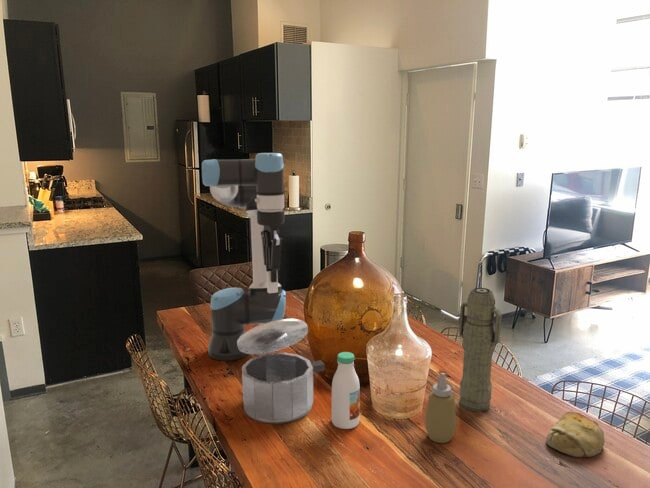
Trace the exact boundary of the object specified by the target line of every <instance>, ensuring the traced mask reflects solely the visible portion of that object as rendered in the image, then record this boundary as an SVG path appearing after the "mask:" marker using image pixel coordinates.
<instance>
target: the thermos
mask: <svg viewBox="0 0 650 488" xmlns="http://www.w3.org/2000/svg"><path fill="white" fill-rule="evenodd" d="M466 299H467V300H466V301H465V302H463V303H462V304H461V306H460V307H459V329H458V331H459V336H460V337H461V339H462V349H463V358H462V359H463V361H462V362H463V363H462V364H463V365H462V377H461V380H460V383H459V405H460V406H462V407H463V408H464V409H466V410H469V411H472V412H483V411H487V410H489V409H490V407H491V399H492V390H493V389H492V386H493V384H492V381H491V378H492V377H491V375H492V374H491V373H492V361H493V360H492V359H493V353H494V351H495V346H496V345H497V344H499V343H500V340H501V339H500V338H501V337H500V336H501V326H502V318H503V315H502V312H501V310H500V309H497V308H496V299H495V295H494V292H493V290H491V289H489V288H486V287H475V288H472V289H470V291H469V294H468V296H467V298H466ZM465 310H466V311H465ZM465 312H466V320H465ZM494 319H495V322H494ZM494 324H495V326H494Z"/></svg>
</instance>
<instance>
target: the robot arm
mask: <svg viewBox="0 0 650 488" xmlns="http://www.w3.org/2000/svg"><path fill="white" fill-rule="evenodd" d="M284 168H285V164H284V157H283V154H282V153H279V152H260V153H259V152H258V153H257V154H256V155H255V158H247V159H245V158H243V159H215V158H212V159H205V160H203V161H202V162H201V179H202V184H203V185H204V186H205V187H209V192H210V194H211V196H212V198H213V199H214V200H215V201H216V202H218V203H220V204H222V205H225V206H228V207H233V208H245V213H246V214H247V215H248V216H249V218H250V234H251V235H250V237H251V258H252V259H251V261H252V262H251V263H252V283H251V284H250V285H249V287H248V290H249V291H247V292H245V291H244V289H243V288H241V287H236V286H235V287H227V288H223V289H220V290H218V291H216V292H214V293H213V294H212V296H211V298H210V309H209V310H210V313H211V316H210V317H211V332H212V333H211V337H210V340H209V343H208V347H207V351H208V353H207V355H208V357H210V358H211V359H213V360H217V361H223V362H224V361H229V362H230V361H236V360H240V359H243V358H245V357H247V356H248V355H249V354H246V353H243V352H241V351H240V350H239V349H238V346H237V340H238V339H239V337H240V336H241V335H242V334H243V333H245V332H246V330H245V325H246V326H247V325H261V324H264V323H267V322H270V321H275V320H281V319H284V317H285V312H286V303H287V299H286V298H287V297H286V296H287V295H286V294H287V293H286V290H284V289H282V285H281V283H279V282H278V281H279V280H278V279H279V274H278V273H279V272H278V271H280V270H281V262H282V261H281V259H282V246H283V241H284V240H283V238H282V237H281V232H280V230H279V226H280V225H283V224H284V223H285V221H286V220H285V211H284V210H283V209H284V208H285V193H284V191H285V190H284V184H285V183H284V180H285V179H284Z"/></svg>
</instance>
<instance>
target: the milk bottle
mask: <svg viewBox="0 0 650 488" xmlns="http://www.w3.org/2000/svg"><path fill="white" fill-rule="evenodd" d="M354 360H355V355H354V353H352V352H350V351H342V352H339V353H338V354H337V361H336V363H337V364H338V365H337V369H336V371H335V372H334V375H333V376H332V377H333V378H332V381H331V423H332V425H333V426H334V427H335V428H337V429H342V430H350V429H354V428H356V427H357V426H358V425H359V423H360V412H361V411H360V410H361V409H360V408H361V407H360V406H361V404H360V403H361V400H360V399H361V395H360V394H361V393H360V392H361V390H360V389H361V388H360V379H359V376H358V374H357V373H356V370H355V364H354Z"/></svg>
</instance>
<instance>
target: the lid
mask: <svg viewBox="0 0 650 488" xmlns="http://www.w3.org/2000/svg"><path fill="white" fill-rule="evenodd" d="M308 333H309V328H308V324H307V323H306V321H304V320H302V319H296V318H283V319H281V320H275V321H270V322H267V323H263V324H257V325H256V326H254V327H252V328H250V329H248V330H245V333H243V334H242V335H241V336H240V337H239V339H238V340H237V346H238V349H239V350H240V351H241V352H243V353H246V354H248V355H258V356H260V355H263V354H271V353H277V352H278V351H281V350H284V349H287V348H289V347H291V346H293V345H295V344H297V343H299V342H300V341H302V340H303V339H304V338H305V337H306V336H307V335H308Z"/></svg>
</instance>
